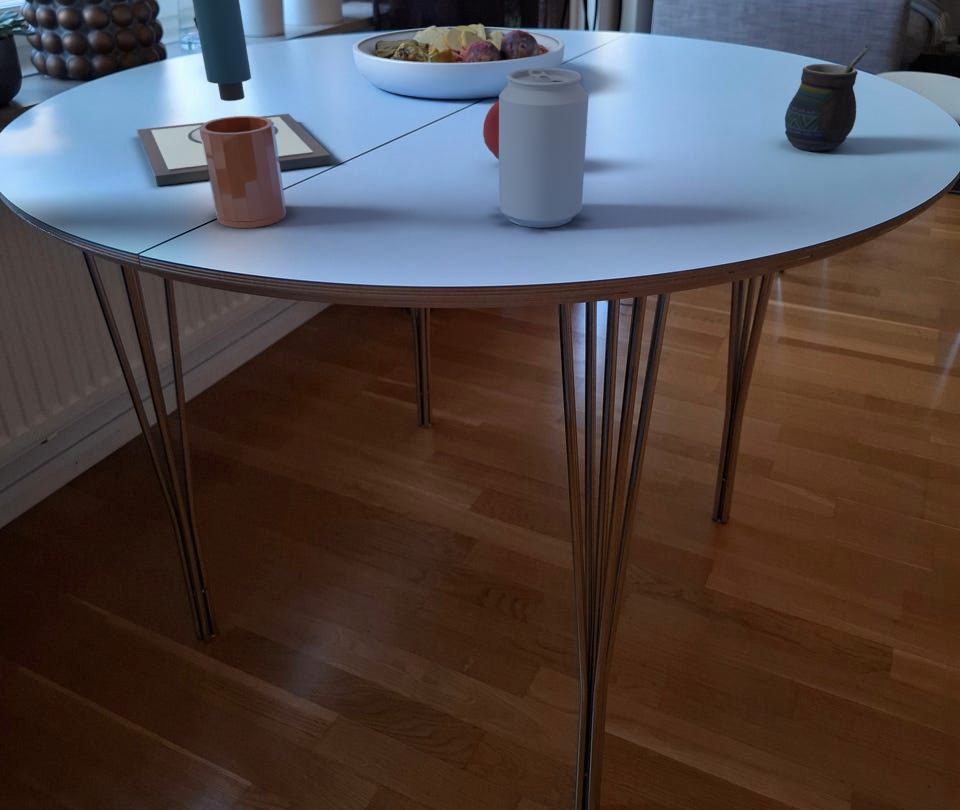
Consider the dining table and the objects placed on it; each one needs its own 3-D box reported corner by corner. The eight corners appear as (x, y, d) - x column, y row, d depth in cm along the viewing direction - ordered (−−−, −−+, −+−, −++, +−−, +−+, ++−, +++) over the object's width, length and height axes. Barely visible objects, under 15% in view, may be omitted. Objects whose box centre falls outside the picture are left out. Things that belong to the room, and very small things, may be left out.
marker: (214, 105, 71) (178, -92, 63) (207, 96, 74) (172, -94, 66) (258, 100, 72) (228, -93, 64) (249, 92, 75) (220, -95, 67)
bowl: (314, 82, 125) (307, 21, 120) (461, 54, 142) (460, -1, 138) (456, 116, 108) (455, 47, 103) (605, 79, 125) (609, 18, 120)
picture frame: (157, 186, 86) (154, 173, 86) (138, 138, 101) (136, 127, 100) (331, 164, 92) (330, 152, 91) (289, 122, 107) (288, 111, 106)
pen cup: (223, 232, 75) (205, 137, 71) (212, 210, 80) (194, 120, 75) (293, 222, 77) (279, 129, 73) (278, 201, 82) (265, 113, 77)
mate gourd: (766, 141, 97) (783, 44, 91) (820, 134, 99) (841, 39, 94) (807, 158, 92) (828, 55, 86) (864, 150, 94) (889, 50, 88)
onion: (549, 167, 90) (552, 84, 86) (511, 179, 87) (512, 94, 82) (510, 156, 94) (511, 76, 89) (472, 167, 90) (470, 85, 86)
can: (530, 237, 74) (535, 86, 67) (482, 213, 79) (481, 70, 72) (598, 220, 77) (608, 74, 70) (547, 198, 82) (553, 60, 75)
